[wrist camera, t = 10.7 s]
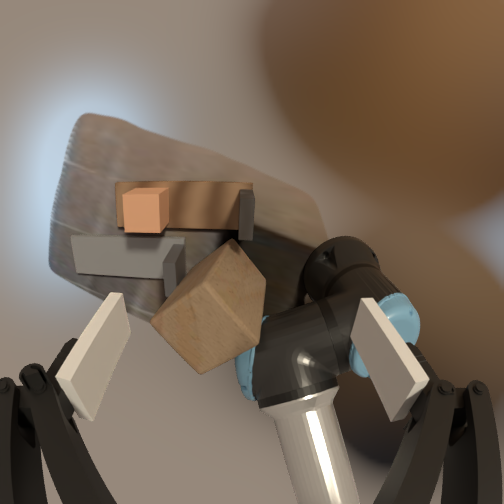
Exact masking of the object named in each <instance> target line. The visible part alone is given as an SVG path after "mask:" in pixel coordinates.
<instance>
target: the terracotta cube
mask: <svg viewBox="0 0 504 504" xmlns="http://www.w3.org/2000/svg"><path fill="white" fill-rule="evenodd" d="M122 197H123V214H124V227H125V232H141V233H161V231H162V230H163V229H164V228H165V227H166V225H167V224H168V223H169V188H135V189H133V190H131V191H129V192H127V193H125V194H123V195H122Z"/></svg>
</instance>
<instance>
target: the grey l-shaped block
mask: <svg viewBox="0 0 504 504" xmlns="http://www.w3.org/2000/svg"><path fill="white" fill-rule="evenodd" d="M71 243H72V249H73V255H74V261H75V266H76V271H77V273H85V274H97V275H111V276H126V277H141V278H158V279H164V287H165V297H169V296H170V295H171V293H172V292H173V291H174V290H175V288H176V287H177V286H178V285H179V284H180V282H181V281H182V280H183V279H184V277H185V276H186V275H187V272H186V245H185V237H162V236H122V235H71Z"/></svg>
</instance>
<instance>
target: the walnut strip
mask: <svg viewBox="0 0 504 504" xmlns="http://www.w3.org/2000/svg"><path fill="white" fill-rule="evenodd" d="M135 188H169V223H168V224H167V225H166V227H165V228H200V229H231V230H239V240H253V225H254V208H255V197H254V194H253V190H252V189H253V183H244V182H214V181H141V182H117V183H115V192H116V210H117V223H118V227H124V214H123V197H122V195H123V194H125V193H127V192H129V191H131V190H133V189H135Z"/></svg>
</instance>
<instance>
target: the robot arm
mask: <svg viewBox="0 0 504 504" xmlns="http://www.w3.org/2000/svg"><path fill="white" fill-rule="evenodd" d="M303 278H304V285H305V288H306V290H307V293H308V295H309V297H310V298H311V300H312V301H313V302H311V303H308V304H305V305H302V306H299V307H296V308H293V309H290V310H287V311H284V312H281V313H278V314H275V315H271V316H264V317H263V318H262V323H261V332H260V340H259V343H258V345H257V346H255V347H253V348H251V349H249V350H248V351H246V352H244V353H242V354H240V355H238V356H237V357H235V367H236V373H237V378H238V382H239V384H240V385H241V391H242V393H243V394H244V396H245V397H246V398H247V399H248V400H253V401H256V400H257V401H258V405H259V408H260V411H261V412H263V413H265V414H267V415H269V416H270V417H272V418H273V419H274V422H275V426H276V430H277V433H278V437H279V440H280V443H281V448H282V451H283V455H284V458H285V462H286V465H287V469H288V472H289V475H290V479H291V482H292V485H293V489H294V492H295V496H296V499H297V502H298V504H360V501H359V497H358V493H357V489H356V485H355V481H354V478H353V474H352V470H351V466H350V463H349V459H348V455H347V452H346V448H345V444H344V441H343V437H342V434H341V430H340V427H339V423H338V420H337V416H336V413H335V410H334V406H333V403H332V402H333V398H334V396H335V395H336V393H337V391H338V389H339V386H338V382H337V379H336V376H337V375H340V374H342V373H344V372H348V371H350V370H353V371H354V372H355V373H356V374H358V375H359V376H361V377H367V376H368V377H369V378H371V380H372V382H373V384H374V386H375V388H376V390H377V392H378V395H379V397H380V399H381V401H382V403H383V405H384V408H385V409H386V412H387V414H388V416H389V419H390V421H391V422H392V421H396V420H400V419H404V418H405V417H406V415H407V414H408V412H409V411H410V412H411V414H412V417H411V419H410V420H409V422H408V423H407V424H406V426H405V427H404V428H403V429H404V430H405V429H406V428H407V429H406V432H405V435H404V437H403V440H402V443H401V445H400V448H399V450H398V453H397V455H396V457H395V460H394V462H393V464H392V467H391V469H390V471H389V473H388V475H387V478H386V480H385V482H384V484H383V486H382V488H381V490H380V492H379V494H378V495H377V497H376V499H375V501H374V503H373V504H430V501H431V498H432V495H433V493H434V490H435V487H436V484H437V481H438V477H439V474H440V471H441V467H442V464H443V460H444V465H443V468H444V469H443V485H442V496H441V504H502V473H501V461H500V460H501V459H500V450H499V442H498V435H497V429H496V423H495V418H494V413H493V408H492V403H491V399H490V394H489V390H488V388H487V386H486V385H485V384H484V383H482V382H480V381H478V380H473V381H471V382H470V383H469V385H468V386H467V388H455V387H454V385H452V384H451V383H450V382H448V381H446V380H440V379H439V378H438V377H437V375H436V374H435V372H434V371H433V369H432V368H431V366H430V365H429V364H428V362H427V361H426V359H425V357H424V356H422V353H421V352H420V350H419V349H418V348H417V347H416V346H415V343H416V341H417V338H418V335H419V330H420V319H419V316H418V313H417V311H416V310H415V308H414V307H413V305H412V304H411V303H410V301H409V299H408V298H407V296H406V295H404V294H403V293H402V292H400V290H399V289H398V288H397V287H396V286H395V285H394V284H393V283H392V282H391V281H390V280H389V279H388V278H387V277H386V276H385V275H384V274H383V273H382V272H381V269H380V265H379V262H378V259H377V256H376V254H375V253H374V251H373V250H372V249H371V248H370V247H369V246H368V245H367V244H366V243H365V242H363V241H362V240H360V239H358V238H355V237H351V236H340V237H336V238H332V239H330V240H328V241H326V242H324V243H322V244H321V245H320V246H319V247H317V248H316V249H315V250H314V252H313V253H312V254H311V256H310V257H309V259H308V261H307V263H306V265H305V269H304V277H303ZM130 334H131V331H130V326H129V322H128V317H127V313H126V308H125V303H124V298H123V293H112V292H110V294H109V295H108V297H107V298H106V299H105V301H104V302H103V304H102V305H101V307H100V308H99V309H98V311H97V312H96V314H95V315H94V317H93V318H92V319H91V321H90V322H89V324H88V326H87V327H86V328H85V330H84V331H83V333H82V334H81V336H80V338H79V339H75V338H72V339H71V340H69V341H68V342H67V343H65V345H64V346H63V348H62V349H61V352H60V353H59V354H58V355H57V358H55V360H54V362H53V363H52V365H51V366H50V368H49V369H48V371H47V373H46V372H45V370H44V368H43V366H41V365H40V364H36V363H34V364H29V365H27V366H25V367H24V368H23V369H22V370H21V372H20V374H19V379H20V381H21V382H22V384H23V386H16V384H15V383H14V381H13V380H12V379H11V378H7V377H4V378H1V379H0V504H48V502H47V497H46V491H45V485H44V477H43V470H42V460H41V449H42V452H43V455H44V458H45V461H46V464H47V467H48V469H49V472H50V474H51V477H52V480H53V482H54V485H55V487H56V490H57V492H58V494H59V496H60V499H61V501H62V503H63V504H117V503H116V501H115V500H114V498H113V497H112V495H111V493H110V492H109V490H108V489H107V487H106V485H105V483H104V481H103V480H102V478H101V476H100V474H99V472H98V471H97V469H96V467H95V465H94V463H93V461H92V459H91V457H90V455H89V453H88V450H87V448H86V446H85V444H84V442H83V440H82V437H81V435H80V433H79V430H78V428H77V425H76V423H75V421H74V419H73V417H72V415H73V412H74V410H75V412H76V413H77V415H78V416H79V417H80V418H83V419H86V420H90V421H94V418H95V416H96V413H97V411H98V408H99V406H100V403H101V401H102V398H103V396H104V393H105V391H106V389H107V386H108V383H109V381H110V379H111V377H112V374H113V372H114V370H115V367H116V365H117V363H118V361H119V358H120V356H121V354H122V351H123V349H124V347H125V345H126V343H127V341H128V338H129V336H130ZM40 446H41V447H40Z"/></svg>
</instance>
